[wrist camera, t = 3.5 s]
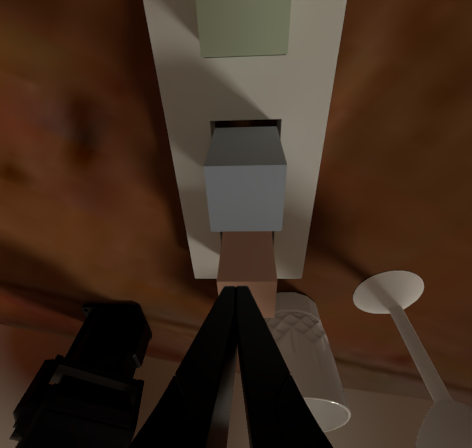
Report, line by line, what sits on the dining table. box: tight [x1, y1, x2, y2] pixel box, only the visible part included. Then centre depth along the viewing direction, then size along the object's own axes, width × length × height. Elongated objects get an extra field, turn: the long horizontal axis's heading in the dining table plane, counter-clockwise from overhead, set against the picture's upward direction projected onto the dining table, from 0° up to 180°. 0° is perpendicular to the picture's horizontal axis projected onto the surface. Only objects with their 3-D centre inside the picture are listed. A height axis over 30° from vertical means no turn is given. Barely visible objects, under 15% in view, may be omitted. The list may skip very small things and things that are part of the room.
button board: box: [143, 0, 347, 279], centre depth 17 cm, size 9×22×2 cm, turn 2°
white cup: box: [264, 292, 351, 432], centre depth 25 cm, size 8×8×10 cm
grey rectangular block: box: [203, 126, 287, 232], centre depth 14 cm, size 3×3×5 cm
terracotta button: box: [217, 231, 277, 318], centre depth 18 cm, size 3×3×5 cm
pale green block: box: [195, 0, 291, 57], centre depth 12 cm, size 3×3×5 cm
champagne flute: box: [353, 271, 472, 448], centre depth 17 cm, size 7×7×24 cm
